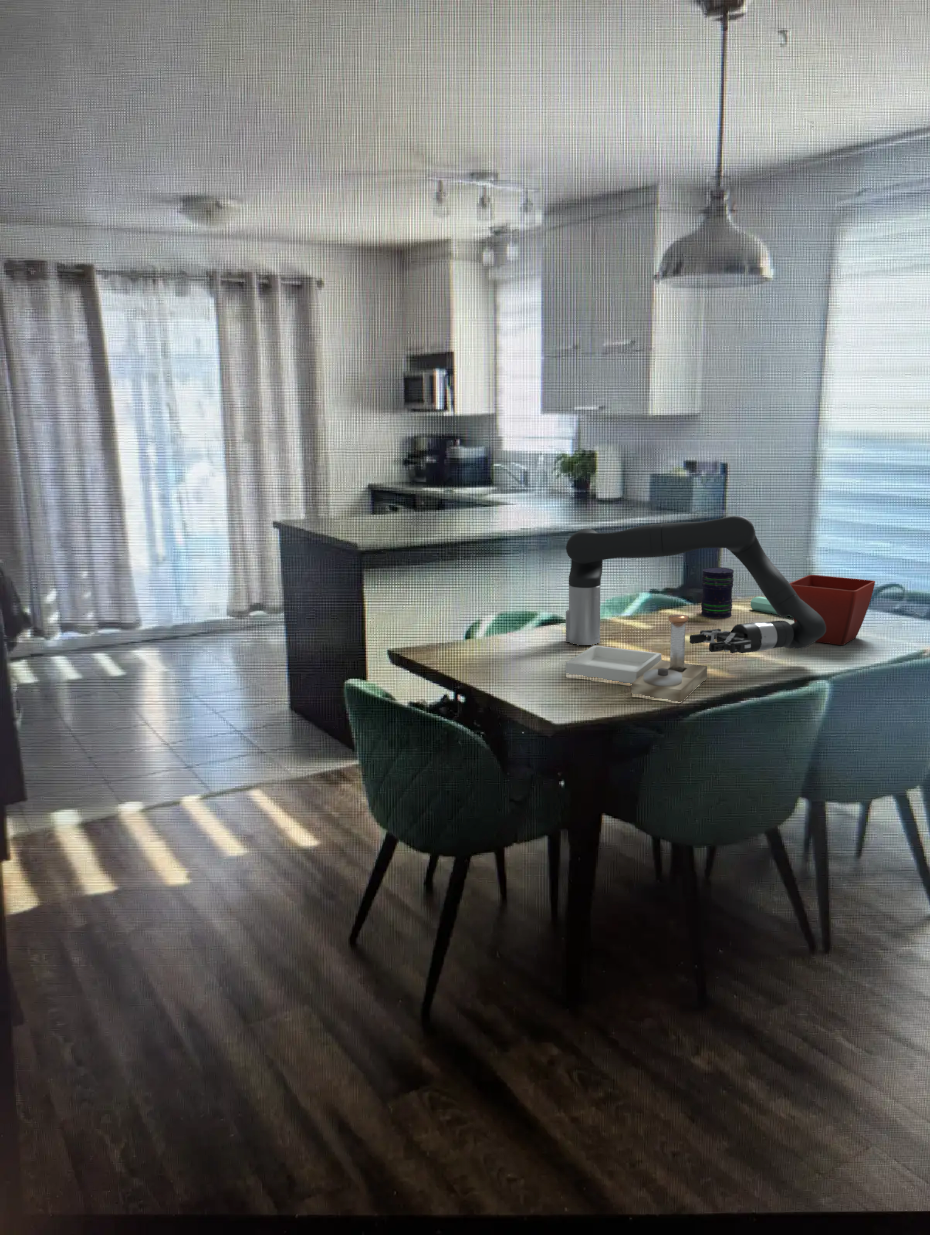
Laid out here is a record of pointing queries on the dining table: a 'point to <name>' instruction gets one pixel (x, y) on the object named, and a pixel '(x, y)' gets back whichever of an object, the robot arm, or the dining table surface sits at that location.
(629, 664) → the tray
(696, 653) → the dining table surface
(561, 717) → the dining table surface
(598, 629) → the robot arm
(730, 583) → the storage jar
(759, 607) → the mint green rod
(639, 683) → the wooden peg base
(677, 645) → the lock pin
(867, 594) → the plant pot
